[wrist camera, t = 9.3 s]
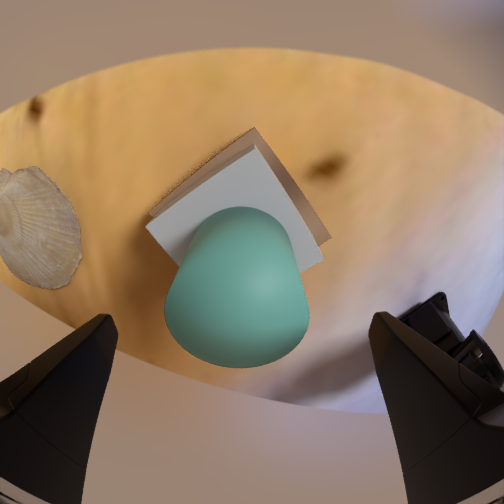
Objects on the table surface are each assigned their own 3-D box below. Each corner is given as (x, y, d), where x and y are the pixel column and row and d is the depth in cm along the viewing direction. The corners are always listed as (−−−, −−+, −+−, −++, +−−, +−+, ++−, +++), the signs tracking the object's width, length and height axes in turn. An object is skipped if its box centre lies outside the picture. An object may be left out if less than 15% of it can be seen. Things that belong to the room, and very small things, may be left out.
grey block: (312, 235, 16) (324, 259, 14) (225, 284, 18) (221, 314, 15) (254, 143, 14) (254, 148, 11) (162, 207, 15) (145, 226, 13)
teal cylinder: (309, 265, 14) (332, 333, 9) (231, 309, 15) (225, 381, 11) (253, 185, 12) (254, 226, 7) (171, 243, 13) (136, 305, 9)
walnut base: (320, 220, 19) (331, 237, 16) (232, 277, 21) (230, 300, 19) (254, 127, 16) (254, 127, 13) (163, 198, 18) (148, 212, 16)
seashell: (103, 282, 21) (89, 302, 19) (22, 274, 21) (7, 289, 18) (79, 148, 16) (57, 155, 13) (-3, 169, 16) (-23, 178, 13)
